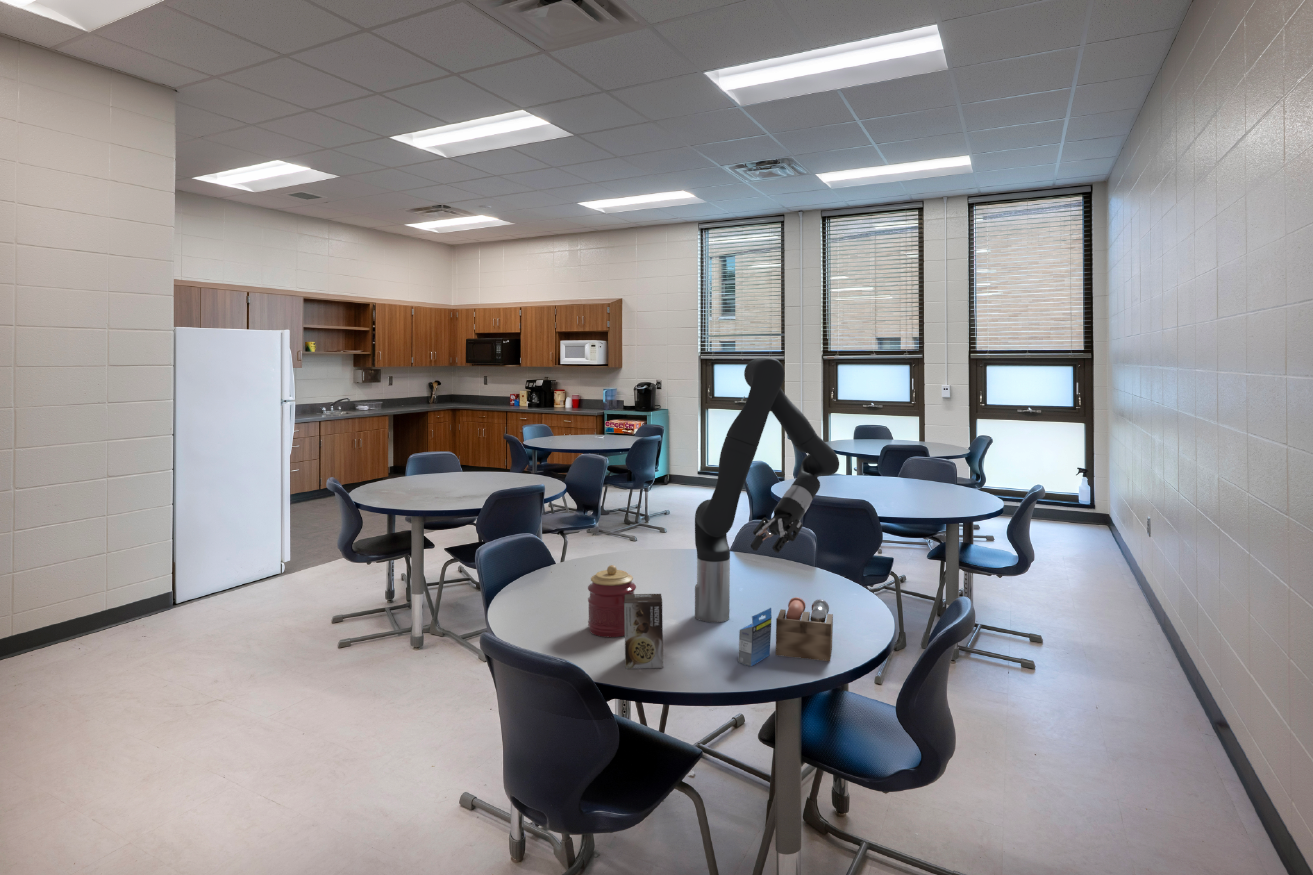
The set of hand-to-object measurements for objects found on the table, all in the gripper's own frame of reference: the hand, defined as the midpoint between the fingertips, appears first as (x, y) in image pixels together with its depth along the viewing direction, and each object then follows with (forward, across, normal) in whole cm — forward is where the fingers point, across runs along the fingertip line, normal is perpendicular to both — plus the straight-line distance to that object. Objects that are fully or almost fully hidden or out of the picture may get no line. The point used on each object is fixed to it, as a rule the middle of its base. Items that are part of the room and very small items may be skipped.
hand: (763, 549), depth 192 cm
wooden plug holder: (+18, +14, +17) cm, 28 cm away
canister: (+38, -26, -8) cm, 46 cm away
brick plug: (+11, +9, +14) cm, 20 cm away
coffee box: (+44, -2, -9) cm, 45 cm away
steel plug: (+9, +14, +17) cm, 23 cm away
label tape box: (+28, +11, +8) cm, 31 cm away
